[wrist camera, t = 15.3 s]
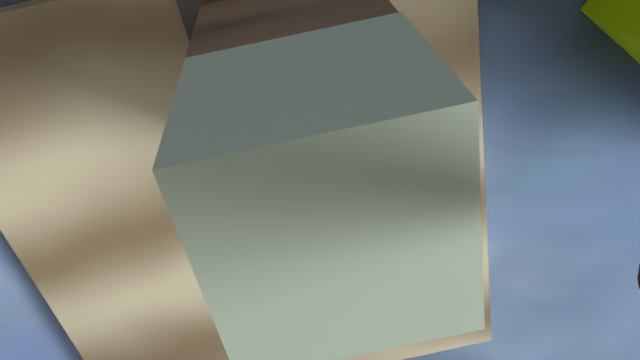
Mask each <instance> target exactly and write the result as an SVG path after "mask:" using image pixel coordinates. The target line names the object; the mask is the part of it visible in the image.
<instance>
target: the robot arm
mask: <svg viewBox="0 0 640 360" xmlns="http://www.w3.org/2000/svg"><path fill="white" fill-rule="evenodd" d="M638 284H639V288H640V265H639V271H638Z"/></svg>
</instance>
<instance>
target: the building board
mask: <svg viewBox="0 0 640 360" xmlns="http://www.w3.org/2000/svg"><path fill="white" fill-rule="evenodd" d="M216 1H221V0H30V1H26V2H21V3H17V4H13V5H8V6H4V7H0V230H1V232H2V233H3V235H4V237H5V238H6V240H7V241H8V243H9V244H10V246H11V247H12V249H13V251H14V252H15V254H16V255H17V257H18V258H19V260H20V261H21V263H22V265H23V266H24V268H25V269H26V271H27V272H28V274H29V275H30V277H31V279H32V280H33V282H34V283H35V285H36V286H37V288H38V289H39V291H40V293H41V294H42V296H43V297H44V299H45V300H46V302H47V303H48V305H49V307H50V308H51V310H52V311H53V313H54V314H55V316H56V317H57V319H58V321H59V322H60V324H61V325H62V327H63V328H64V330H65V331H66V333H67V335H68V336H69V338H70V339H71V341H72V342H73V344H74V345H75V347H76V349H77V350H78V352H79V353H80V355H81V356H82V358H83V359H84V360H229V358H228V356H227V353H226V351H225V348H224V346H223V343H222V341H221V339H220V336H219V334H218V331H217V329H216V326H215V324H214V321H213V319H212V316H211V314H210V311H209V309H208V307H207V304H206V302H205V299H204V297H203V294H202V292H201V289H200V287H199V284H198V282H197V280H196V277H195V275H194V272H193V270H192V267H191V265H190V262H189V260H188V257H187V255H186V252H185V250H184V248H183V245H182V243H181V240H180V238H179V235H178V233H177V230H176V228H175V225H174V223H173V221H172V218H171V216H170V213H169V211H168V208H167V206H166V203H165V201H164V198H163V196H162V193H161V191H160V189H159V186H158V184H157V181H156V179H155V176H154V174H153V171H152V169H153V165H154V162H155V158H156V155H157V152H158V148H159V145H160V141H161V138H162V135H163V131H164V128H165V125H166V121H167V118H168V114H169V111H170V108H171V104H172V101H173V98H174V94H175V91H176V87H177V84H178V81H179V77H180V74H181V70H182V67H183V64H184V60H185V56H186V53H187V49H188V46H189V43H190V39H191V36H192V33H193V29H194V26H195V23H196V19H197V16H198V12H199V9H200V6H201V5H203V4H208V3H212V2H216ZM389 1H390V2H391V4H392V5H393V6H394V7H395V8H396V9H397V11H398V12H402V13H403V14H404V15H405V16H406V18H407V19H408V20H409V21H410V22H411V23H412V25H413V26H414V27H415V28H416V29H417V30H418V32H419V33H420V34H421V35H422V36H423V37H424V39H425V40H426V41H427V42H428V43H429V44H430V46H431V47H432V48H433V49H434V50H435V51H436V53H437V54H438V55H439V56H440V57H441V58H442V60H443V61H444V62H445V63H446V64H447V65H448V66H449V68H450V69H451V70H452V71H453V72H454V73H455V75H456V76H457V77H458V78H459V79H460V80H461V82H462V83H463V84H464V85H465V86H466V87H467V89H468V90H469V91H470V92H471V93H472V94H473V96H474V97H475V98H476V99H477V100H478V116H479V150H480V183H481V217H482V251H483V284H484V318H485V329H483V330H478V331H473V332H469V333H464V334H459V335H454V336H449V337H445V338H440V339H435V340H430V341H426V342H421V343H416V344H411V345H407V346H402V347H397V348H392V349H388V350H383V351H378V352H373V353H368V354H364V355H359V356H354V357H349V358H345V359H340V360H404V359H408V358H413V357H417V356H422V355H426V354H431V353H436V352H440V351H445V350H449V349H454V348H459V347H463V346H468V345H472V344H477V343H481V342H486V341H491V320H490V295H489V270H488V245H487V220H486V195H485V170H484V145H483V120H482V95H481V70H480V45H479V20H478V0H389Z"/></svg>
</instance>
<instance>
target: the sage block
mask: <svg viewBox="0 0 640 360" xmlns="http://www.w3.org/2000/svg"><path fill="white" fill-rule="evenodd" d="M152 171H153V174H154V176H155V179H156V181H157V184H158V186H159V189H160V191H161V193H162V196H163V198H164V201H165V203H166V206H167V208H168V211H169V213H170V216H171V218H172V221H173V223H174V225H175V228H176V230H177V233H178V235H179V238H180V240H181V243H182V245H183V248H184V250H185V252H186V255H187V257H188V260H189V262H190V265H191V267H192V270H193V272H194V275H195V277H196V280H197V282H198V284H199V287H200V289H201V292H202V294H203V297H204V299H205V302H206V304H207V307H208V309H209V311H210V314H211V316H212V319H213V321H214V324H215V326H216V329H217V331H218V334H219V336H220V339H221V341H222V343H223V346H224V348H225V351H226V353H227V356H228V358H229V360H340V359H345V358H349V357H354V356H359V355H364V354H368V353H373V352H378V351H383V350H388V349H392V348H397V347H402V346H407V345H411V344H416V343H421V342H426V341H430V340H435V339H440V338H445V337H449V336H454V335H459V334H464V333H469V332H473V331H478V330H483V329H485V318H484V284H483V251H482V217H481V183H480V150H479V116H478V100H477V99H476V98H475V97H474V96H473V94H472V93H471V92H470V91H469V90H468V89H467V87H466V86H465V85H464V84H463V83H462V82H461V80H460V79H459V78H458V77H457V76H456V75H455V73H454V72H453V71H452V70H451V69H450V68H449V66H448V65H447V64H446V63H445V62H444V61H443V60H442V58H441V57H440V56H439V55H438V54H437V53H436V51H435V50H434V49H433V48H432V47H431V46H430V44H429V43H428V42H427V41H426V40H425V39H424V37H423V36H422V35H421V34H420V33H419V32H418V30H417V29H416V28H415V27H414V26H413V25H412V23H411V22H410V21H409V20H408V19H407V18H406V16H405V15H404V14H403V13H402V12H398V13H393V14H388V15H384V16H379V17H374V18H370V19H365V20H360V21H356V22H351V23H346V24H342V25H337V26H332V27H328V28H323V29H318V30H314V31H309V32H304V33H300V34H295V35H290V36H286V37H281V38H276V39H271V40H267V41H262V42H257V43H253V44H248V45H243V46H239V47H234V48H229V49H225V50H220V51H215V52H211V53H206V54H201V55H197V56H192V57H187V58H185V60H184V64H183V67H182V70H181V74H180V77H179V81H178V84H177V87H176V91H175V94H174V98H173V101H172V104H171V108H170V111H169V114H168V118H167V121H166V125H165V128H164V131H163V135H162V138H161V141H160V145H159V148H158V152H157V155H156V158H155V162H154V165H153V169H152Z"/></svg>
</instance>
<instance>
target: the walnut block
mask: <svg viewBox="0 0 640 360" xmlns="http://www.w3.org/2000/svg"><path fill="white" fill-rule="evenodd" d="M393 13H398V11H397V9H396V8H395V7H394V6H393V5H392V4H391V2H390V1H389V0H221V1H216V2H212V3H208V4H203V5H201V6H200V9H199V12H198V16H197V19H196V23H195V26H194V29H193V33H192V36H191V39H190V43H189V46H188V49H187V53H186V56H185V58H187V57H192V56H197V55H201V54H206V53H211V52H215V51H220V50H225V49H229V48H234V47H239V46H243V45H248V44H253V43H257V42H262V41H267V40H271V39H276V38H281V37H286V36H290V35H295V34H300V33H304V32H309V31H314V30H318V29H323V28H328V27H332V26H337V25H342V24H346V23H351V22H356V21H360V20H365V19H370V18H374V17H379V16H384V15H388V14H393Z"/></svg>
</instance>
